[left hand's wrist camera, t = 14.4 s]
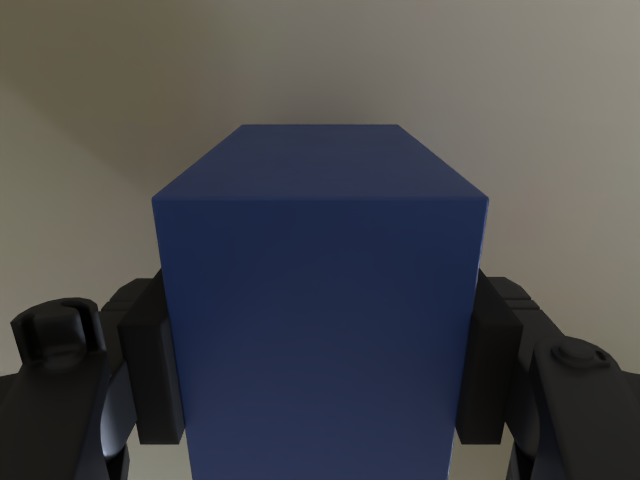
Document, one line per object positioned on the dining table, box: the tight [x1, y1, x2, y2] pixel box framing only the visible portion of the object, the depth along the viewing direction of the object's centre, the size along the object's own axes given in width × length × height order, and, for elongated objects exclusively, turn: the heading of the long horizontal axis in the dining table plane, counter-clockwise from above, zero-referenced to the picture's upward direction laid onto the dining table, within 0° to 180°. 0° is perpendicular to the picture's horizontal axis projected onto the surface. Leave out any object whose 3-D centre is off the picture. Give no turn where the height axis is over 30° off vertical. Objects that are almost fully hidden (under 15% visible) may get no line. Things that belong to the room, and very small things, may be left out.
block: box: [152, 125, 489, 480], centre depth 13 cm, size 6×7×9 cm
